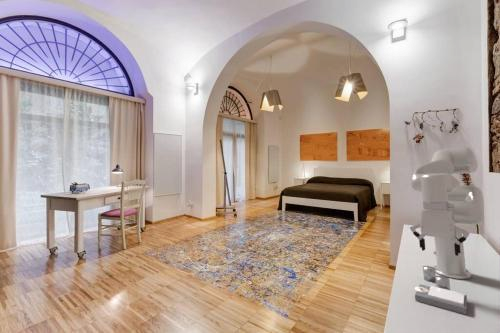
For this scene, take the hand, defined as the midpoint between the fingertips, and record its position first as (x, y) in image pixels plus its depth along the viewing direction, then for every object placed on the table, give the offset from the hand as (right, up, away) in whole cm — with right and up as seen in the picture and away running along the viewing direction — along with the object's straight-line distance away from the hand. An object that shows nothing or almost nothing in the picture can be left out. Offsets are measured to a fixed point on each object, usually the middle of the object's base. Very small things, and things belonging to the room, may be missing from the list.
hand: (439, 252), depth 85 cm
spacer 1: (+4, -15, +9) cm, 18 cm away
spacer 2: (+1, -15, 0) cm, 15 cm away
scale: (-5, -15, -6) cm, 17 cm away
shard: (+30, -16, +32) cm, 46 cm away
